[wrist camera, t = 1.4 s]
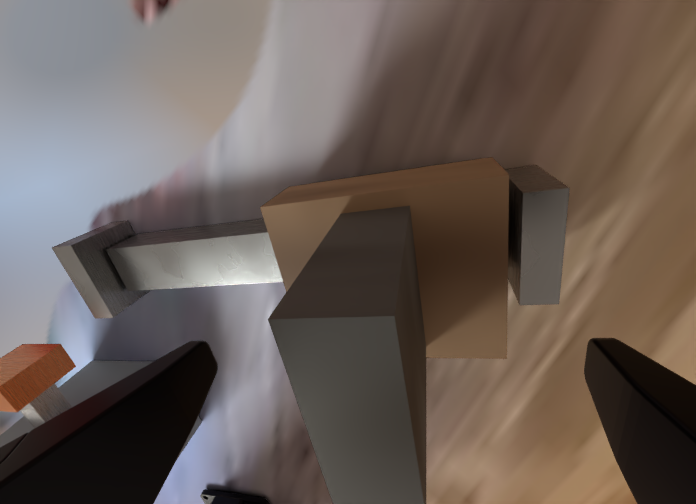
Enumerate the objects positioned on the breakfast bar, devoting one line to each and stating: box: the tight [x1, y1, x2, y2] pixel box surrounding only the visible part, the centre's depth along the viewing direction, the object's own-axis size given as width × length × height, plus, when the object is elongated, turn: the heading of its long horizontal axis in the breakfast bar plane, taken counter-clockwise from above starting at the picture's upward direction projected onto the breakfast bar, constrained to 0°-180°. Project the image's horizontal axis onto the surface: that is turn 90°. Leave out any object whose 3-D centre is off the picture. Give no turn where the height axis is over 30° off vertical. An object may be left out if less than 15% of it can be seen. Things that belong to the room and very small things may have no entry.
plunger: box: [0, 344, 76, 428], centre depth 18 cm, size 7×3×3 cm, turn 13°
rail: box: [52, 165, 569, 318], centre depth 14 cm, size 4×21×3 cm, turn 103°
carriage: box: [260, 157, 509, 504], centre depth 10 cm, size 6×7×9 cm
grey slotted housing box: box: [0, 360, 202, 457], centre depth 21 cm, size 6×7×7 cm
